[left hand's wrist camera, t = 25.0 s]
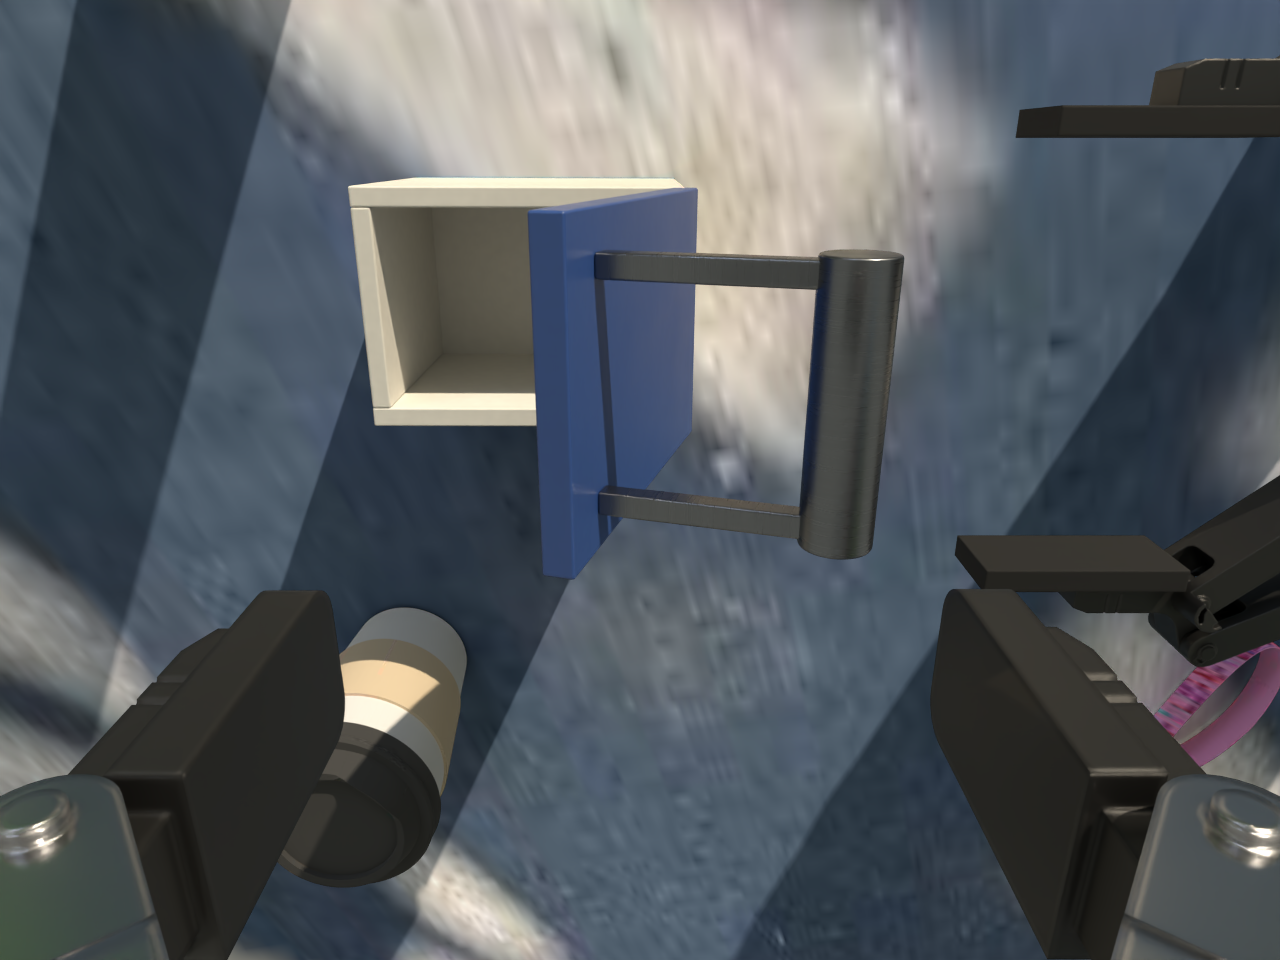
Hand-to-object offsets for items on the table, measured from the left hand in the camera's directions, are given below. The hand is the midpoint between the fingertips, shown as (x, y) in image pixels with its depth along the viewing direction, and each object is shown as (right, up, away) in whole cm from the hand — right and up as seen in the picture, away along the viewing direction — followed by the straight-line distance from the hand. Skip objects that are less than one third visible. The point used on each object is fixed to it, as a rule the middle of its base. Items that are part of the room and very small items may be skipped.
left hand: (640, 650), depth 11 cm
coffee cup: (-14, -8, +42) cm, 45 cm away
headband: (+35, -11, +43) cm, 56 cm away
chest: (-5, +13, +33) cm, 36 cm away
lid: (-1, +6, +17) cm, 18 cm away
